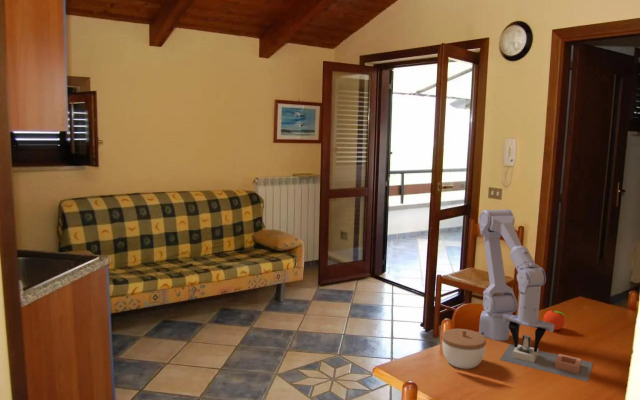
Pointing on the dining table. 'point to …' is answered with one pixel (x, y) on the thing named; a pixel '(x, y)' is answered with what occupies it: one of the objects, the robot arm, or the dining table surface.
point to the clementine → (554, 319)
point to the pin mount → (525, 354)
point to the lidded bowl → (463, 347)
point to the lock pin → (526, 343)
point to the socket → (568, 363)
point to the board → (548, 364)
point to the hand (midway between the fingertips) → (525, 348)
